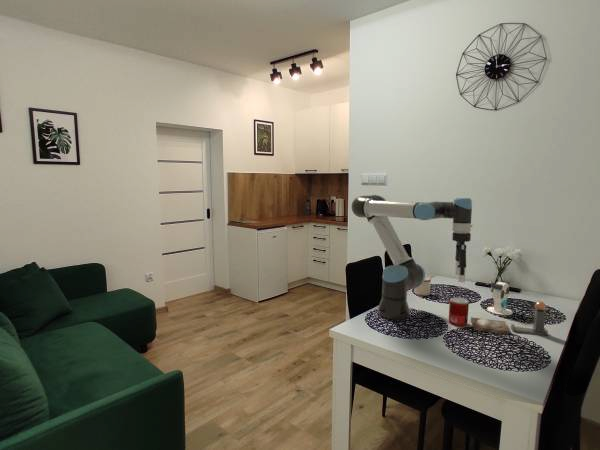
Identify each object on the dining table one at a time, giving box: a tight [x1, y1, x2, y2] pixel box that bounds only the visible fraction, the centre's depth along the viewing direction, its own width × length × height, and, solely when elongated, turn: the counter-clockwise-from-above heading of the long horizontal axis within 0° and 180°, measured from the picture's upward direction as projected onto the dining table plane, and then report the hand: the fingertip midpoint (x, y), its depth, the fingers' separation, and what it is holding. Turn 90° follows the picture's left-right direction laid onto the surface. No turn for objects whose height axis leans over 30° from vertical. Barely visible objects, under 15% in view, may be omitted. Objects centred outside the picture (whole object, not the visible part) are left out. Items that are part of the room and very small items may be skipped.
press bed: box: [470, 316, 511, 335], centre depth 165 cm, size 14×12×2 cm
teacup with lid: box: [413, 275, 432, 296], centre depth 215 cm, size 12×9×12 cm
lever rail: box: [510, 323, 549, 337], centre depth 160 cm, size 13×4×2 cm, turn 71°
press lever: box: [532, 301, 547, 333], centre depth 158 cm, size 4×4×13 cm
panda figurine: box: [486, 279, 513, 316], centre depth 185 cm, size 12×11×15 cm
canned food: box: [448, 297, 470, 327], centre depth 169 cm, size 8×8×11 cm
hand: (459, 278), depth 169 cm, fingers open, 13 cm apart
